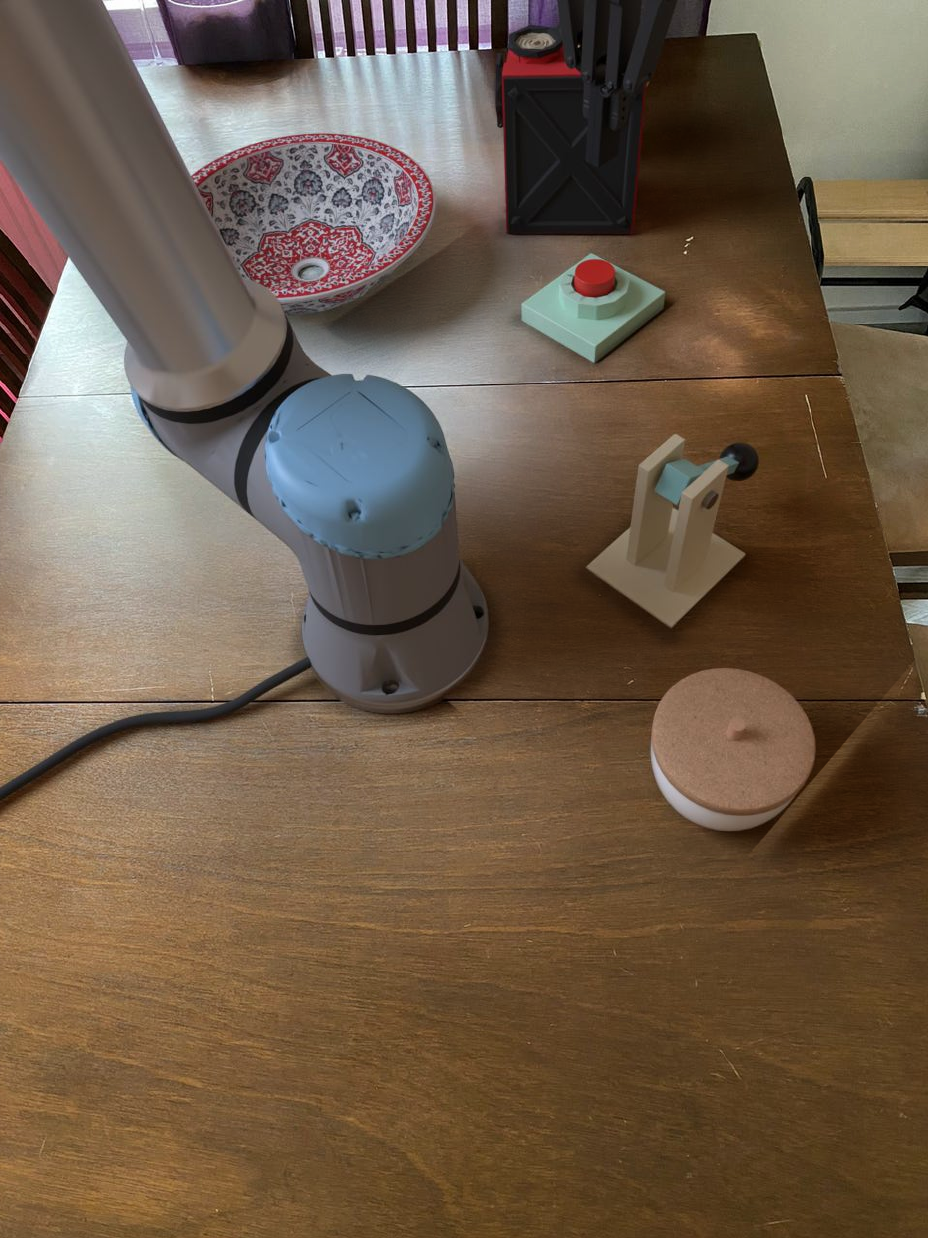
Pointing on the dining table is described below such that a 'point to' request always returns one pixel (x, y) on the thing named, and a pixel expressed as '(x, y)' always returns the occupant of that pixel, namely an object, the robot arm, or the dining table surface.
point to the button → (594, 278)
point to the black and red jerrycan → (559, 144)
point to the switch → (685, 472)
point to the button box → (592, 312)
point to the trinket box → (730, 748)
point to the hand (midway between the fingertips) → (601, 157)
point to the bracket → (669, 541)
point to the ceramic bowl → (318, 214)
